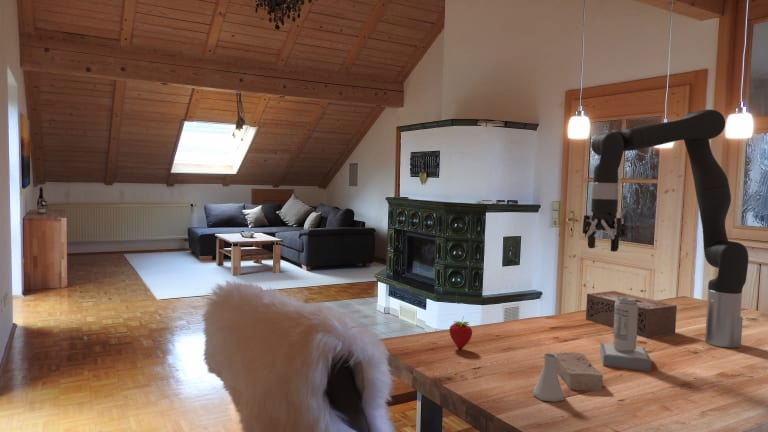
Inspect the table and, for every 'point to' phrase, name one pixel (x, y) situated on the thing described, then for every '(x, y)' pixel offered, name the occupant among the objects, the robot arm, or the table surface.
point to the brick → (578, 372)
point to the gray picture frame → (625, 358)
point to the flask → (549, 381)
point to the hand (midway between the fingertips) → (602, 249)
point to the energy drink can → (625, 324)
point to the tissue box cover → (650, 318)
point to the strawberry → (460, 333)
